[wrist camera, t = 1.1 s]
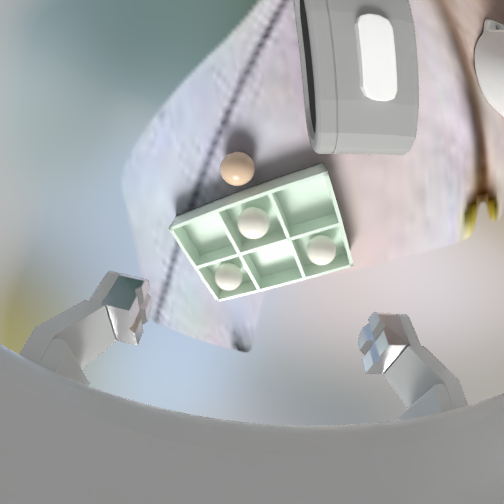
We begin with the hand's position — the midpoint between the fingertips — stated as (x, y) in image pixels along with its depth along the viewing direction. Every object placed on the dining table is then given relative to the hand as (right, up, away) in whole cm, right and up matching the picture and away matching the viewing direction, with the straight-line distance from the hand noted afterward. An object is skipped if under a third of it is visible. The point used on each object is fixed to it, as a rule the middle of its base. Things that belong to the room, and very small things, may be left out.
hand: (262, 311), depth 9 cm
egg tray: (+2, +5, +33) cm, 33 cm away
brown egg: (-2, +14, +26) cm, 30 cm away
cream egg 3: (+10, +4, +32) cm, 34 cm away
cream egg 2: (0, +7, +30) cm, 31 cm away
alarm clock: (+10, +25, +17) cm, 32 cm away
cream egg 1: (-4, -1, +36) cm, 36 cm away
